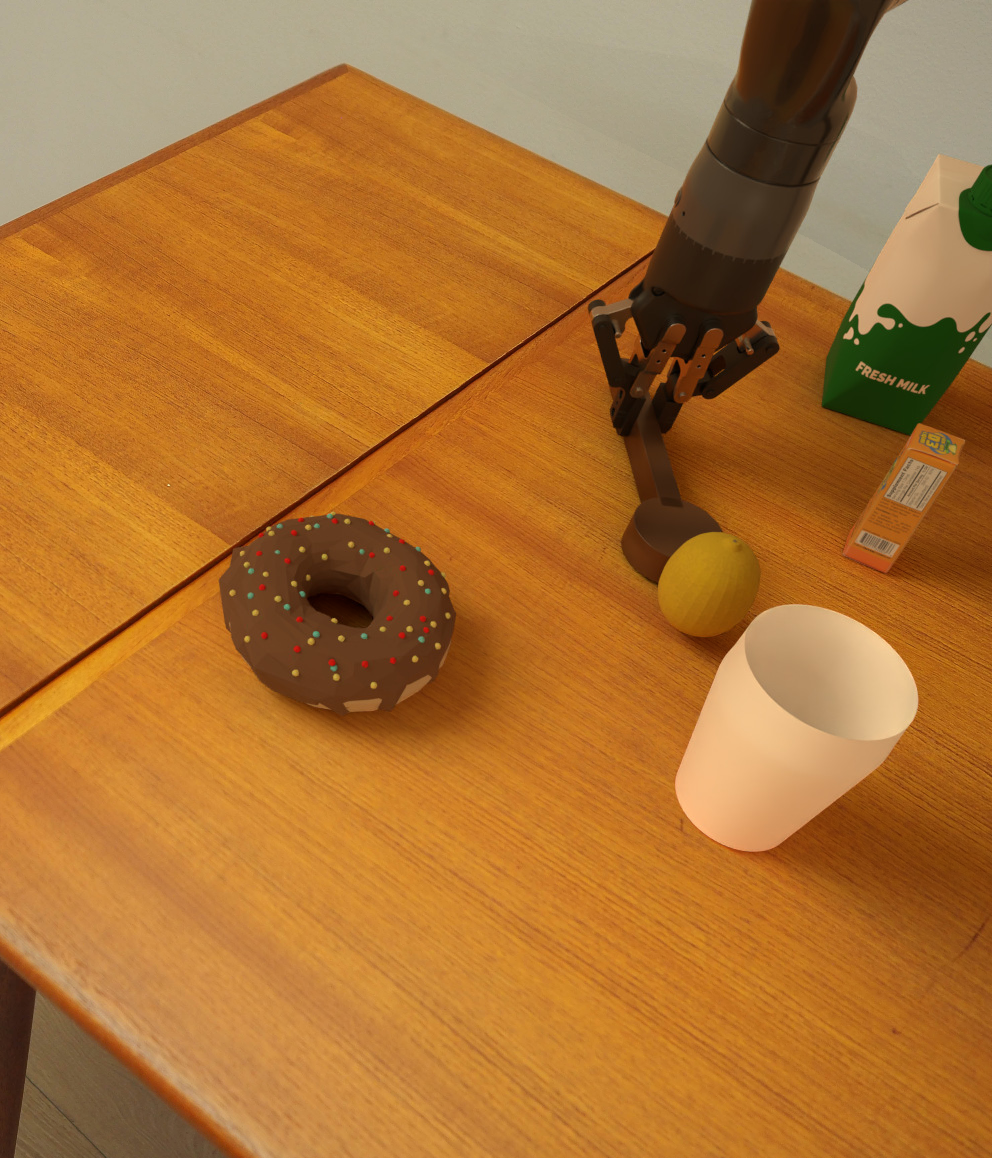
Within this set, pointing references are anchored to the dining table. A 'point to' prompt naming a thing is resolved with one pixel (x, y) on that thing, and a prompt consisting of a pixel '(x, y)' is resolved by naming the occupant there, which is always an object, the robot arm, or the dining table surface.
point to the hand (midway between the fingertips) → (635, 430)
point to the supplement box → (903, 498)
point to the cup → (792, 725)
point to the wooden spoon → (657, 500)
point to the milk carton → (918, 304)
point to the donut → (316, 641)
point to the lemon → (709, 584)
